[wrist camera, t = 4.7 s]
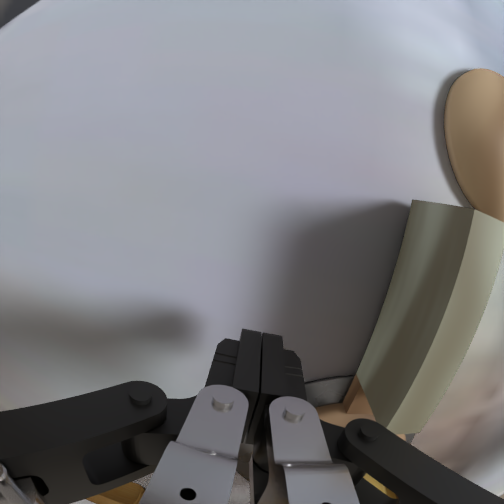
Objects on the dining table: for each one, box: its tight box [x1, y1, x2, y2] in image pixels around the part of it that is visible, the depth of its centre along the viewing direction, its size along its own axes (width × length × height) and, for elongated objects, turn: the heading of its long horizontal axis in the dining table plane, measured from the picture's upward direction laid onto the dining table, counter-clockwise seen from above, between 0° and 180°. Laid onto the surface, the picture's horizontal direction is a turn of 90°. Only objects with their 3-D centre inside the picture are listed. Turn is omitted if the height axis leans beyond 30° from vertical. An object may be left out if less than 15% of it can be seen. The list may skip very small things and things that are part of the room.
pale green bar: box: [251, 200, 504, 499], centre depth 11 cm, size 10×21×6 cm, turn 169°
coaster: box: [444, 69, 504, 222], centre depth 11 cm, size 9×9×1 cm
